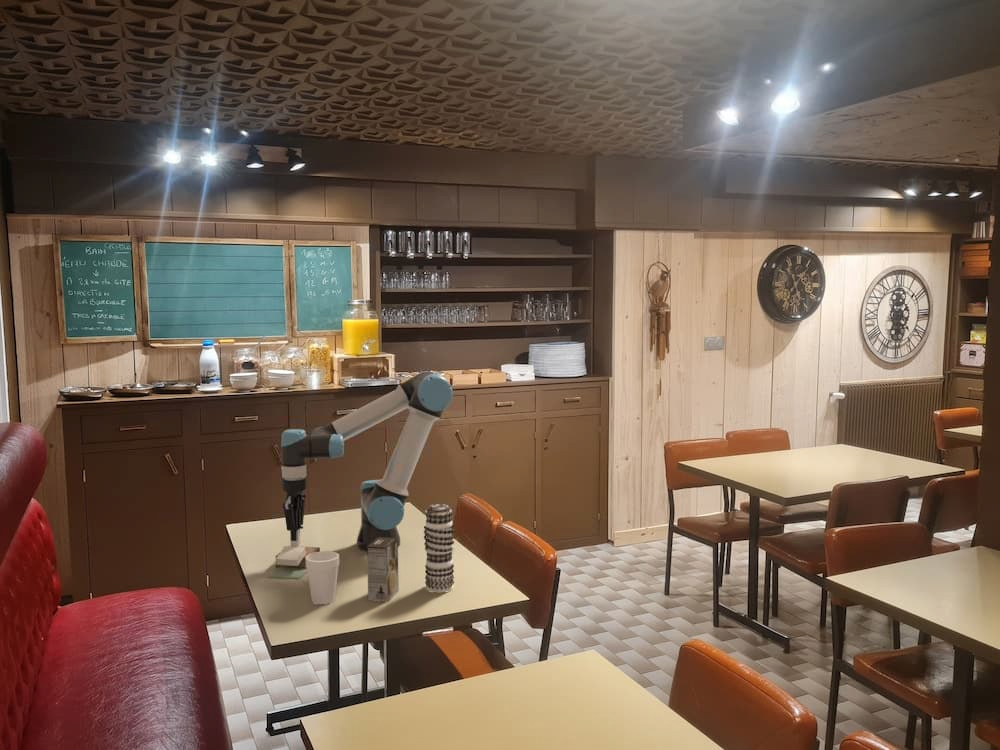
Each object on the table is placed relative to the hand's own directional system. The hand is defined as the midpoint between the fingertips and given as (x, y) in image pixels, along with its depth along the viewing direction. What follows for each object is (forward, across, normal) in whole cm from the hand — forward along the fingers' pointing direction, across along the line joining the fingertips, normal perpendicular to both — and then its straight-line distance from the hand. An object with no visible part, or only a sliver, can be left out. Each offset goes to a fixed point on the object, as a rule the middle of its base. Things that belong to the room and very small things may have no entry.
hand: (295, 549), depth 249 cm
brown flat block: (+5, -2, 0) cm, 6 cm away
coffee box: (+5, +20, +36) cm, 41 cm away
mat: (+6, +7, +1) cm, 9 cm away
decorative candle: (+5, +12, +51) cm, 52 cm away
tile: (+2, +4, 0) cm, 4 cm away
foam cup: (+6, +26, +20) cm, 33 cm away
